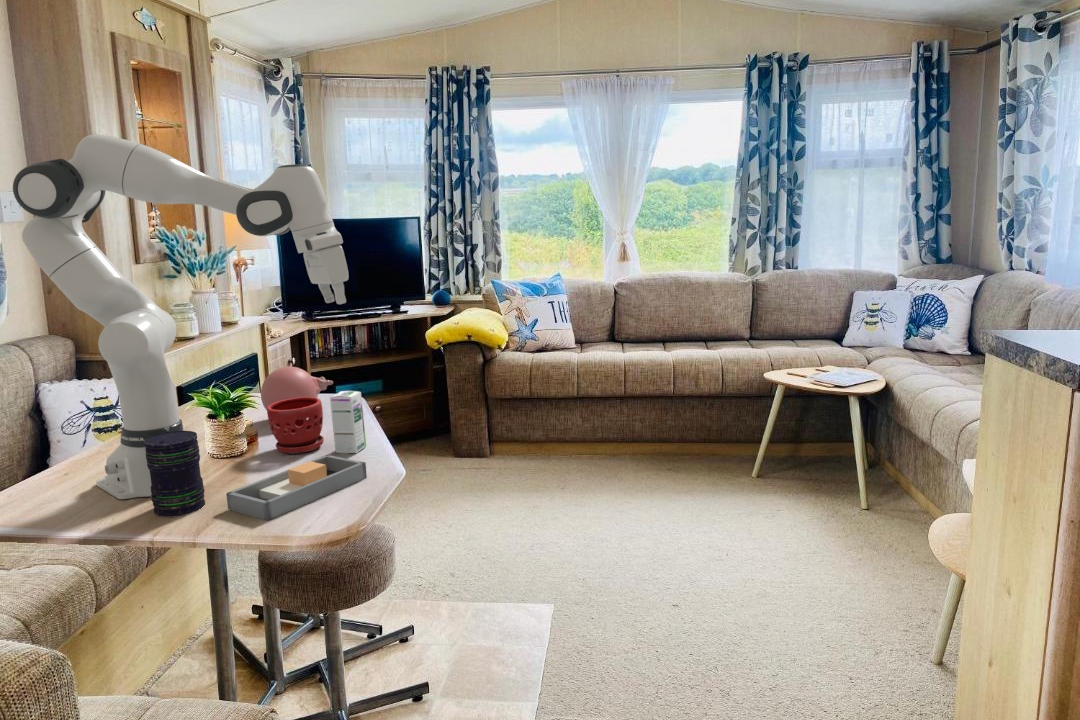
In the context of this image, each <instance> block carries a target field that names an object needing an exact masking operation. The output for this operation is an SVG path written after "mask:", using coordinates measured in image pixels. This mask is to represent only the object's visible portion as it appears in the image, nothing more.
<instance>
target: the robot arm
mask: <svg viewBox="0 0 1080 720" xmlns="http://www.w3.org/2000/svg"><path fill="white" fill-rule="evenodd" d="M106 191H107V192H111V193H115V194H118V195H120V196H124V197H127V198H129V199H132V200H137V201H141V202H144V203H145V202H146V203H152V204H160V205H200V206H205V207H209V208H213V209H217V210H220V211H223V212H226V213H229V214H232V215H235V216H236V218H237V222H238V224H239V226H240V227H241V228H242V229H243V230H244V231H245V232H246V233H248V234H251V235H254V236H257V237H269V236H281V235H284V234H287V233H288V232H289V231H291V233H292V237H293V240H294V243H295V247H296V250H297V254H302V253H303V254H302V255H303V259H304V260H303V261H304V264H305V267H306V268H305V269H306V272H307V276H308V277H309V280H310V281H309V282H310V283H311V284H313V285H314V284H315V285H318V288H319V290H320V292H321V295H322V296H323V298H324V302H325V303H326V304H330V303H333V302H336V304H337V305H342V304H346V303H347V299H346V295H345V294H346V293H345V284H344V282H347V281H348V280H349V276H350V275H349V270H348V269H349V268H348V264H347V260H346V256H345V252H344V249H343V247H342V244H343V243H344V240H343V237H342V234H341V233H340V232H339V231H338V230H337V228H336V227H335V223H334V220H333V218H332V216H331V215H330V212H329V210H328V200H327V197H326V193H325V190H324V188H323V185H322V183H321V180H320V178H319V175H318V173H317V172H316V171H315V169H314V168H313V167H312V166H310V165H307V164H285V165H284V164H283V165H280V166H279V165H278V166H277V167H276V168H275V169H274V171H273V173H272V174H271V175H270V176H269V177H268V178H266V179H265V181H263V182H262V183H260V184H259V185H258V186H257V187H255V188H254V189H252V188H247V187H246V186H245V187H244V186H241V185H239V184H235V183H231V182H229V181H225V180H222V179H219V178H216V177H213V176H210V175H208V174H206V173H204V172H201V171H199V170H197V169H196V168H194V167H192V166H190V165H188V164H186V163H185V162H183V161H181V160H179V159H176V158H175V157H173V156H171V155H170V154H168V153H164V152H162V151H160V150H158V149H156V148H153V147H150V146H148V145H145V144H142V143H139V142H135V141H132V140H129V139H124V138H121V137H117V136H111V135H106V134H105V135H104V134H94V133H93V134H89V135H87V136H85V137H83V138H82V139H81V140H80V141H79V143H78V144H77V146H76V148H75V150H74V153H73V156H72V158H70V159H69V160H66V159H64V158H55V159H51V160H45V161H39V162H35V163H32V164H31V165H27V166H26V167H23V168H22V169H21V170H19V172H18V173H17V174H16V175H15V177H14V180H13V183H12V192H13V196H14V198H15V200H16V203H17V204H18V205H19V206H20V207H21V208H22V209H24V211H26V212H27V213H29V214H31V215H33V216H34V217H33V218H31V219H30V220H29V221H28V222H27V223H26V224H25V226H24V228H23V229H22V232H21V239H22V241H23V243H24V246H25V247H26V249H27V251H28V252H29V253H30V255H31V256H32V258H33V259H34V260H35V262H36V263H37V265H38V266H39V267H40V269H41V270H42V272H44V274H46V276H48V278H49V279H50V280H51V281H52V282H53V284H54V285H55V286H57V288H58V289H59V291H61V293H62V294H63V295H64V296H65V297H66V298H67V299H68V300H69V301H70V303H71V304H73V306H75V308H76V309H78V310H79V311H80V312H83V313H85V314H87V315H88V316H89V317H91V318H93V319H94V320H95V321H97V322H98V323H99V324H100V325H102V326H103V327H104V328H103V329H102V331H101V333H100V335H99V337H98V341H97V342H98V343H97V344H98V350H99V353H100V355H101V356H102V358H103V359H104V361H106V362H107V365H108V367H109V370H110V372H111V373H110V374H111V376H112V378H113V381H114V384H115V387H116V390H117V392H118V393H117V395H118V397H119V405H120V411H121V417H122V418H121V420H122V424H123V425H122V427H119V428H117V429H118V430H120V431H118V434H120V442H119V443H120V444H119V445H118V446H117V447H116V449H114V450H113V451H112V453H110V455H109V456H107V458H106V460H105V465H104V472H105V473H106V475H105V476H103V477H100V478H99V479H97V480H96V481H95V484H96V486H97V487H98V488H100V489H102V490H103V491H104V492H106V493H108V494H109V495H111V496H113V497H114V498H116V499H117V500H126V499H127V500H128V499H134V498H142V497H143V498H145V497H151V488H150V487H151V477H150V470H149V469H148V466H147V460H146V455H145V454H146V451H145V448H146V446H145V443H144V441H145V439H147V438H149V437H151V436H154V435H157V434H161V433H166V432H172V431H184V425H183V422H182V421H183V420H182V419H181V418H180V414H179V413H180V411H179V406H178V405H179V404H178V396H177V389H176V385H175V383H174V381H173V380H172V378H171V375H170V372H169V370H168V366H167V363H166V360H165V352H168V350H169V349H170V348H171V347H172V346H173V344H174V342H175V339H176V337H177V331H178V330H177V329H178V328H177V324H176V321H175V319H174V317H173V316H172V315H171V314H170V313H169V312H167V311H166V310H164V309H162V308H161V307H159V306H158V305H157V304H156V303H155V302H154V301H153V300H152V299H151V298H150V297H148V296H147V295H146V294H145V293H144V292H143V291H141V290H140V289H139V288H138V287H137V286H135V285H134V284H133V283H132V282H131V281H129V280H128V278H126V277H125V276H124V275H123V274H122V272H120V270H119V269H118V268H117V267H116V266H115V265H114V264H113V263H112V262H111V260H110V259H109V258H108V257H107V255H105V253H104V252H103V251H102V250H101V249H100V248H99V247H98V245H97V244H96V243H95V242H94V241H93V240H92V239H91V238H90V236H89V235H88V234H87V233H86V231H85V230H84V227H83V223H86V222H89V221H90V219H91V217H92V216H93V215H94V213H95V212H96V210H97V209H98V208H99V206H100V205H101V204H102V203H103V201H104V199H105V197H106ZM330 285H331V287H332V289H333V292H332V290H331V287H330Z"/></svg>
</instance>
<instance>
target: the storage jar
mask: <svg viewBox="0 0 1080 720" xmlns="http://www.w3.org/2000/svg"><path fill="white" fill-rule="evenodd" d="M144 443H145V446H146V448H145V451H146V454H145V455H146V460H147V466H148V469H149V470H150V477H151V487H150V488H151V496H150V498H151V501H152V506H153V514H154V515H155V516H156V517H161V518H174V516H176V517H181V515H182V516H187V515H189V514H193V513H196V512H198V511H200V510H202V509H203V508H204V507H205V506H206V500H205V486H204V481H203V480H204V479H203V477H202V475H201V466H200V465H201V464H200V461H201V455H200V446H199V441H198V433H197V432H196V431H191V430H183V431H172V432H166V433H161V434H157V435H154V436H151V437H149V438H147V439H145V441H144ZM204 505H205V506H204ZM203 506H204V507H203ZM202 507H203V508H202ZM201 508H202V509H201ZM199 509H200V510H199ZM186 514H187V515H186Z"/></svg>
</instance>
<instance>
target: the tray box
mask: <svg viewBox="0 0 1080 720" xmlns="http://www.w3.org/2000/svg"><path fill="white" fill-rule="evenodd" d="M310 461H311V462H316V463H320V464H325V465H326V471H327V476H326V477H324V478H322V479H319V480H317V481H314V482H312V483H309V484H307V485H304V486H300V485H296V484H291V483H289V475H288V469H286V470H284V471H281V472H279V473H276V474H273V475H270V476H268V477H265V478H263V479H260V480H257V481H255V482H252V483H250V484H246V485H245V486H241V487H239V488H236V489H234V490H231V491H228V492H226V494H225V495H226V502H227V509H230V510H229V511H231V510H233V511H232V512H235V511H236V513H239V514H242V515H246V516H250V517H254V518H257V519H260V518H261V520H264V519H265V521H270V520H273V519H275V518H277V517H279V515H280V516H282V515H284V514H287V513H289V512H291V511H293V510H296V509H298V508H299V507H302V506H305V505H306V504H309V503H312V502H314V501H316V500H318V499H321V498H323V497H325V496H327V495H330V494H332V493H334V492H337V491H339V490H341V489H344V488H347V487H348V486H350V485H353V484H355V483H357V482H359V481H362V480H365V479H366V478H367V476H368V475H367V464H366V462H365V461H360V460H357V459H356V460H355V459H349V458H345V457H340V456H334V455H329V454H326V455H324V456H321V457H317V458H316V459H313V460H310ZM281 514H282V515H281ZM274 517H275V518H274ZM272 518H273V519H272Z"/></svg>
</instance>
